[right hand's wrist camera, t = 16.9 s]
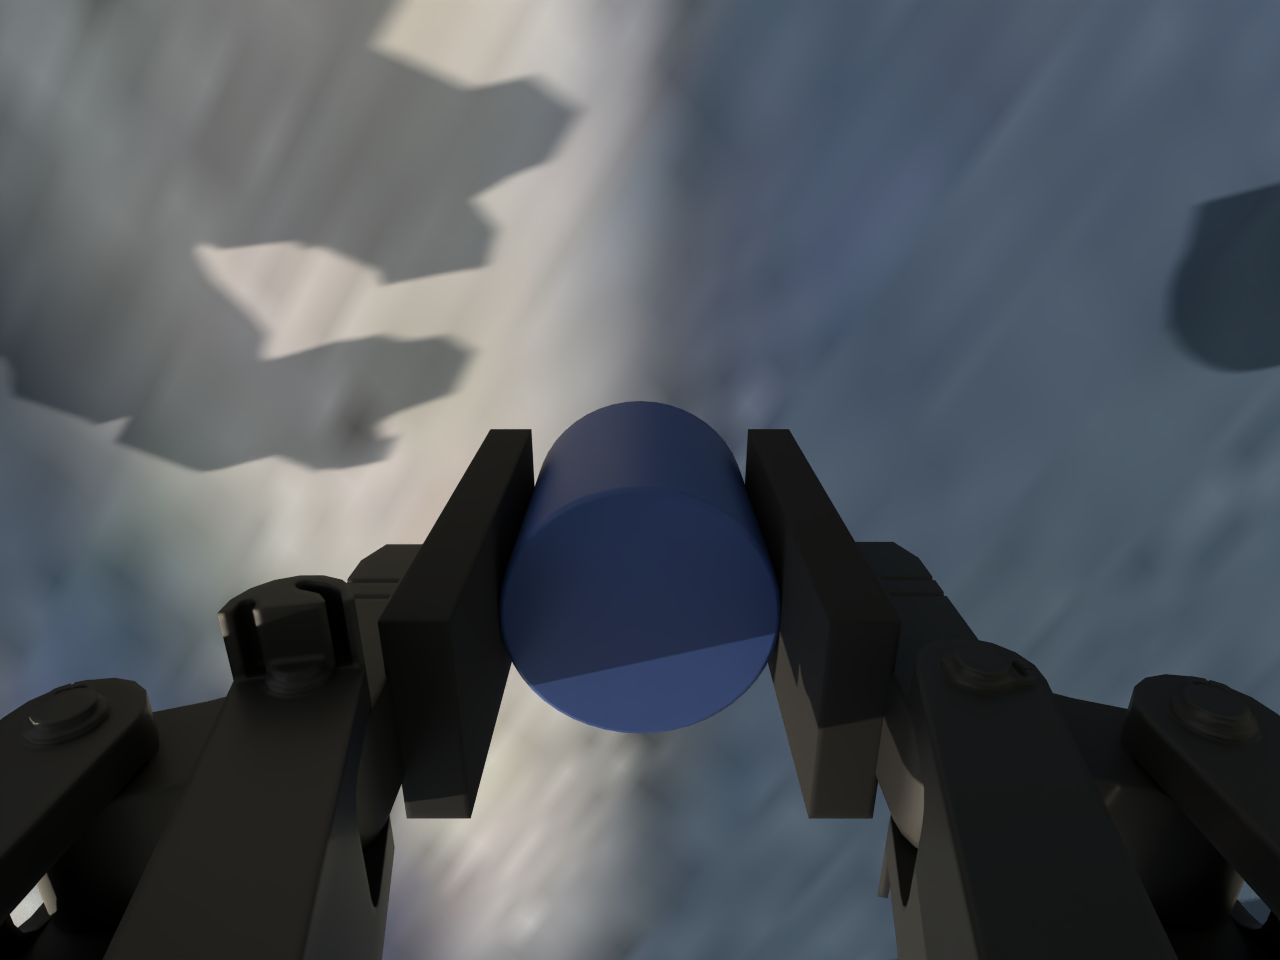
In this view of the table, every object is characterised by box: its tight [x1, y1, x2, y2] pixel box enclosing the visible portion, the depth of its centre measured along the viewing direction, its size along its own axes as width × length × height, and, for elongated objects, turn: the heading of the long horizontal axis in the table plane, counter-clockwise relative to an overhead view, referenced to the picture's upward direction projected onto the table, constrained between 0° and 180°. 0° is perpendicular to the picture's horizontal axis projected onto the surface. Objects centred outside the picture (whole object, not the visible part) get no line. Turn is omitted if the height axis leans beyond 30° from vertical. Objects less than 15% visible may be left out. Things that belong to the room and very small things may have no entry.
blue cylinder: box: [499, 401, 781, 733], centre depth 13 cm, size 4×4×4 cm
